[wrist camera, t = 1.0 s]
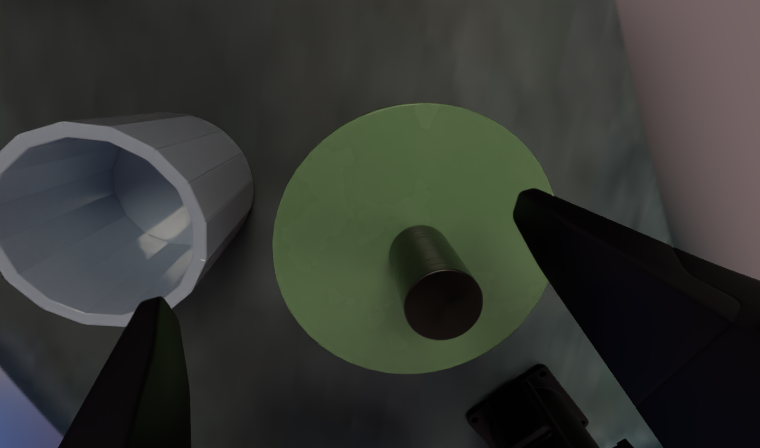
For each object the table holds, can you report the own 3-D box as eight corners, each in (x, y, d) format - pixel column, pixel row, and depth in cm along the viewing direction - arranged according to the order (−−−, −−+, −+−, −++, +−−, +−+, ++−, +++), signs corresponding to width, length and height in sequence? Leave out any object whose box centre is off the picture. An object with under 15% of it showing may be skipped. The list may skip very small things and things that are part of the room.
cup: (282, 194, 22) (250, 245, 15) (185, 273, 23) (107, 361, 16) (180, 81, 20) (80, 73, 12) (78, 174, 21) (-73, 219, 13)
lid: (576, 121, 16) (683, 133, 11) (513, 365, 19) (573, 460, 14) (283, 83, 15) (251, 77, 10) (270, 352, 18) (242, 452, 13)
